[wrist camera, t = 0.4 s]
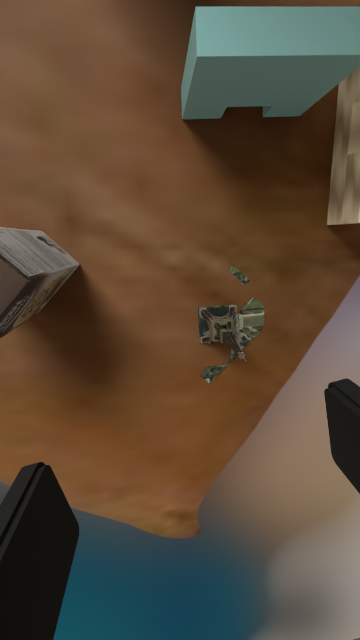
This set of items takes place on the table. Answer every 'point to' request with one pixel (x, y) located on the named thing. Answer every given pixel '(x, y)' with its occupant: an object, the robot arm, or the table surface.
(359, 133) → the slotted board
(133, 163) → the table surface
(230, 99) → the cross plate
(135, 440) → the table surface
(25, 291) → the coffee box
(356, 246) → the table surface
